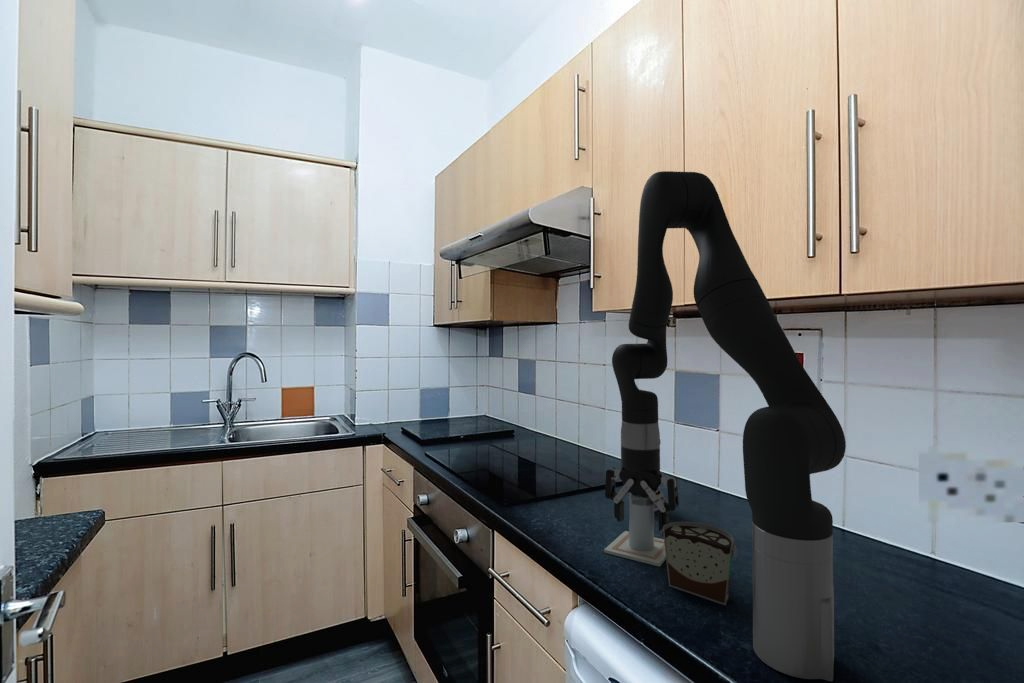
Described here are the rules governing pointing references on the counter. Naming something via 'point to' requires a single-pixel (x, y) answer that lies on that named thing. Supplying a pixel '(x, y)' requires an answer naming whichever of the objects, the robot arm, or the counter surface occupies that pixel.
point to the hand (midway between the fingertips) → (641, 525)
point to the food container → (699, 559)
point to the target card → (624, 550)
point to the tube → (641, 523)
